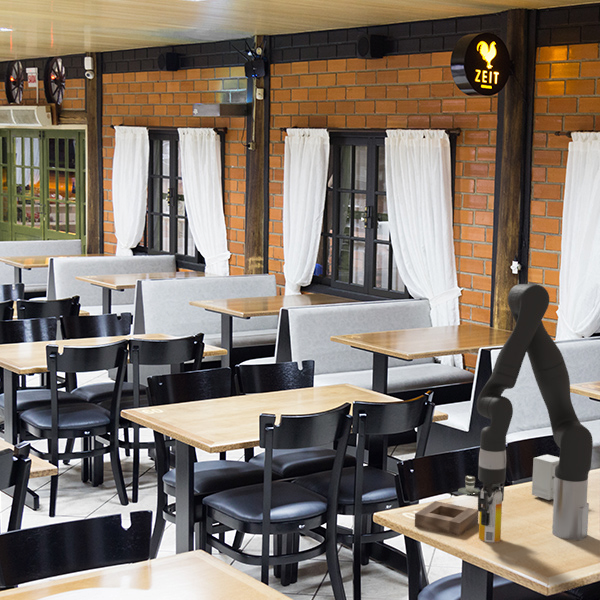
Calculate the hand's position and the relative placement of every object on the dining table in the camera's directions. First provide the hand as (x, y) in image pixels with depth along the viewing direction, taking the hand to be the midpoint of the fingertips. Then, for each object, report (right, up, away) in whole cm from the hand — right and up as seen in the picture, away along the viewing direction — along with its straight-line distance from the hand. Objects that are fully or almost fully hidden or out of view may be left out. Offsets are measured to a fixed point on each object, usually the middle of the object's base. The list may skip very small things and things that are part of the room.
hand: (490, 521), depth 273 cm
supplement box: (+27, -1, +42) cm, 50 cm away
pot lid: (+2, -1, +47) cm, 47 cm away
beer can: (0, -6, +1) cm, 6 cm away
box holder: (-10, -4, +12) cm, 17 cm away
